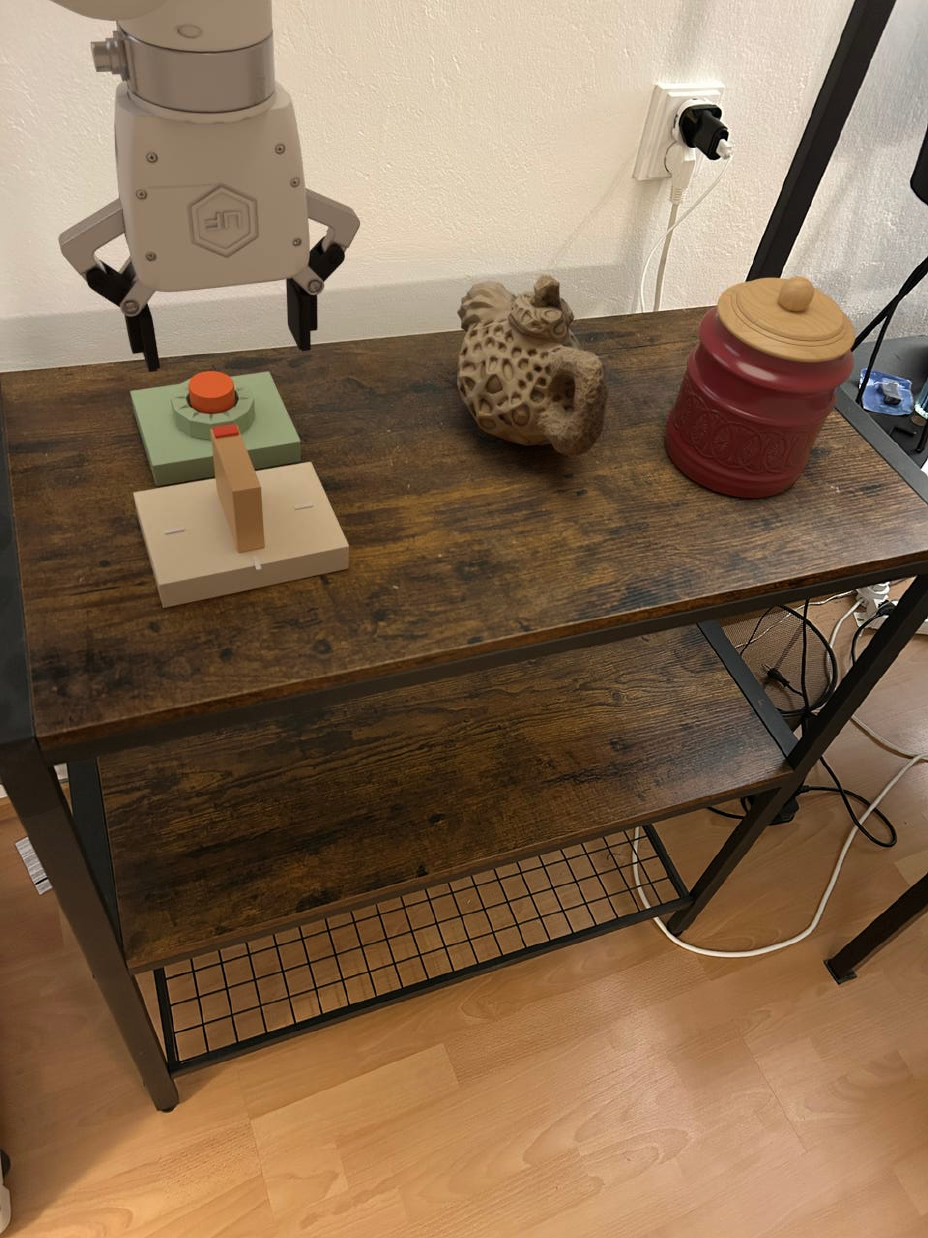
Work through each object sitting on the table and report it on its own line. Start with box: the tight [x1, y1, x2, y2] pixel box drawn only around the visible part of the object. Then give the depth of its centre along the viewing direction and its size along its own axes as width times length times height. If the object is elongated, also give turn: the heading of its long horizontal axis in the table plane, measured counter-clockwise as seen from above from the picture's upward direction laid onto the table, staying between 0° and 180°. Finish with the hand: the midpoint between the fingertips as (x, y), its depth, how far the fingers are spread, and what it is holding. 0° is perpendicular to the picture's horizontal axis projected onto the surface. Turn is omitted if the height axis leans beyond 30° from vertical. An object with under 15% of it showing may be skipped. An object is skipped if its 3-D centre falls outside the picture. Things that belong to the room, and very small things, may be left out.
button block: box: [129, 371, 302, 487], centre depth 81 cm, size 12×10×4 cm
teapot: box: [456, 274, 609, 457], centre depth 82 cm, size 21×12×15 cm, turn 27°
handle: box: [210, 424, 265, 552], centre depth 71 cm, size 7×2×6 cm, turn 22°
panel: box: [132, 461, 350, 609], centre depth 74 cm, size 14×11×3 cm
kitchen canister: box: [664, 275, 856, 499], centre depth 83 cm, size 13×13×18 cm
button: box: [188, 370, 235, 414], centre depth 79 cm, size 4×4×2 cm
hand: (226, 348), depth 63 cm, fingers open, 9 cm apart
